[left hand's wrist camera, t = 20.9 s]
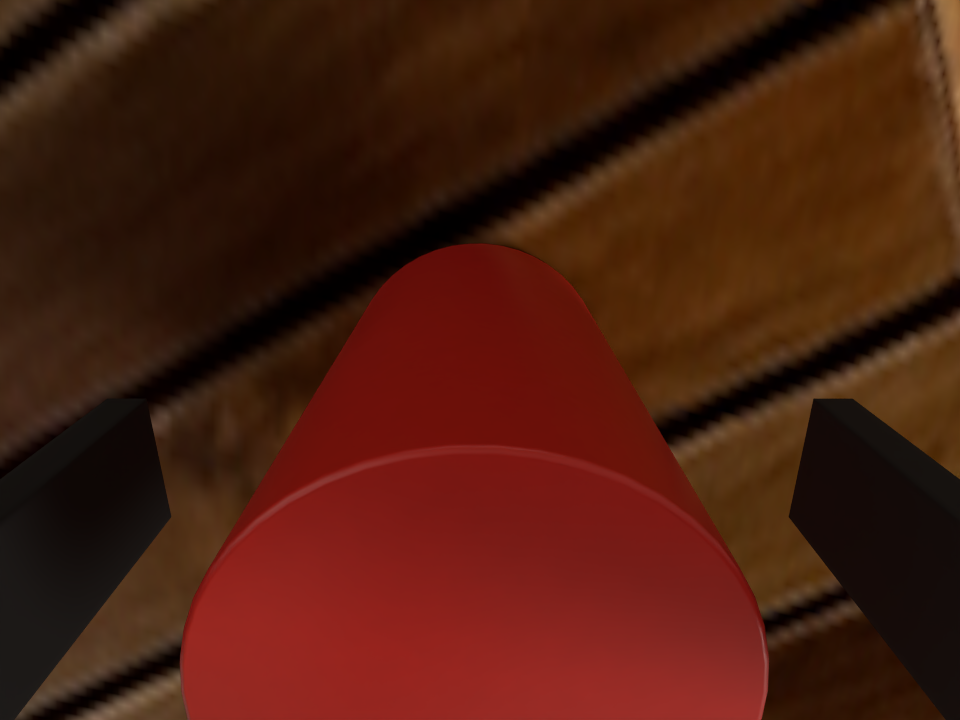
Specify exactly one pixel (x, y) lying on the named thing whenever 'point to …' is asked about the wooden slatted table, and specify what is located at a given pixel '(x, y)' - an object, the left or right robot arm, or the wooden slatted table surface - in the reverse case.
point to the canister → (475, 531)
